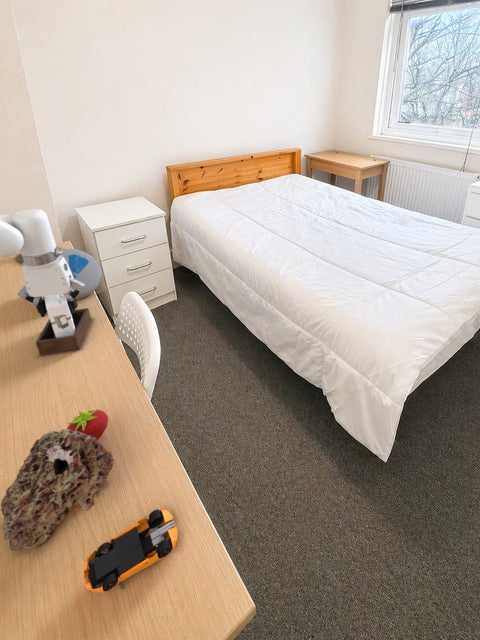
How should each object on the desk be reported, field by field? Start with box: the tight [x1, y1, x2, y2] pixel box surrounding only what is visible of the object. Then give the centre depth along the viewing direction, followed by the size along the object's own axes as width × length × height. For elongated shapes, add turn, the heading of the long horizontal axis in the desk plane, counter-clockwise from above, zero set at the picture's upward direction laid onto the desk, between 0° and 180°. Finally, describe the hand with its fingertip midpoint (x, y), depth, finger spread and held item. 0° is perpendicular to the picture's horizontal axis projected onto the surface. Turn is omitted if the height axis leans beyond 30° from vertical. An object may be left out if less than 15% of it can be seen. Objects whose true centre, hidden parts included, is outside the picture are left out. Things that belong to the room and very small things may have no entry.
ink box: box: [44, 294, 76, 338], centre depth 99 cm, size 9×5×12 cm, turn 38°
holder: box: [35, 307, 92, 357], centre depth 102 cm, size 10×14×5 cm
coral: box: [0, 428, 115, 551], centre depth 62 cm, size 18×13×15 cm
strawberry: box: [66, 408, 109, 442], centre depth 71 cm, size 6×8×10 cm
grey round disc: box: [60, 248, 102, 301], centre depth 120 cm, size 18×18×5 cm
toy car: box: [82, 508, 178, 594], centre depth 56 cm, size 12×12×3 cm
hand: (59, 311), depth 99 cm, fingers closed on ink box, 6 cm apart
